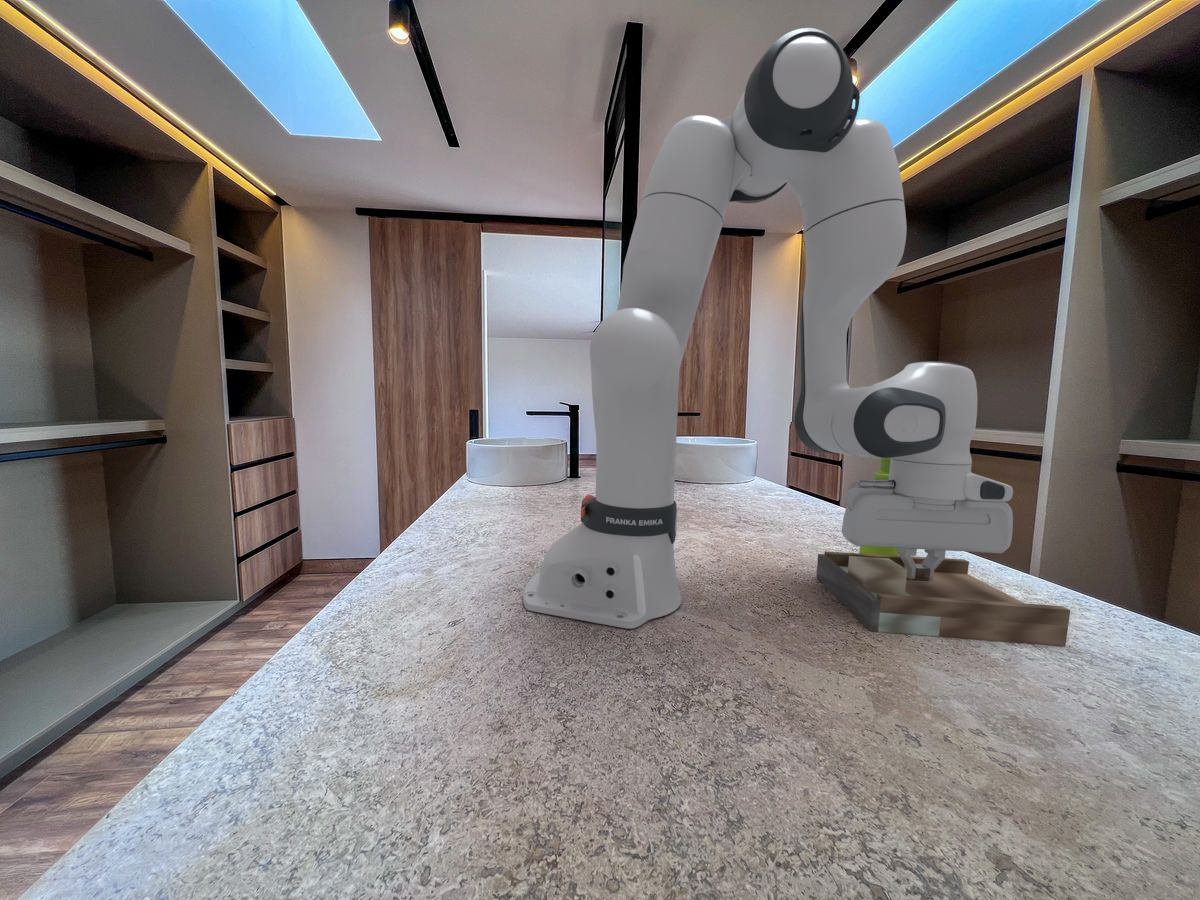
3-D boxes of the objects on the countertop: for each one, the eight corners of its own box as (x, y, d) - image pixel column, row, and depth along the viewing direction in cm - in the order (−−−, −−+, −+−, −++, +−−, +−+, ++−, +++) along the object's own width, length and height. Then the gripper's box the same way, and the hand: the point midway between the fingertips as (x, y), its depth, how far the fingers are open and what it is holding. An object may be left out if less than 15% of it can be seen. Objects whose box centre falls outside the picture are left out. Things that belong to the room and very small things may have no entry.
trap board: (869, 631, 53) (872, 596, 52) (816, 577, 70) (818, 551, 69) (1065, 645, 50) (1070, 610, 50) (961, 586, 67) (964, 559, 67)
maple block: (862, 591, 59) (864, 567, 58) (847, 578, 63) (849, 556, 63) (904, 594, 58) (907, 569, 58) (886, 581, 62) (888, 558, 62)
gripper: (858, 482, 56) (850, 582, 58) (1027, 488, 54) (1015, 592, 56) (837, 475, 63) (831, 565, 64) (988, 480, 60) (978, 573, 62)
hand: (918, 578), depth 60 cm, fingers closed
